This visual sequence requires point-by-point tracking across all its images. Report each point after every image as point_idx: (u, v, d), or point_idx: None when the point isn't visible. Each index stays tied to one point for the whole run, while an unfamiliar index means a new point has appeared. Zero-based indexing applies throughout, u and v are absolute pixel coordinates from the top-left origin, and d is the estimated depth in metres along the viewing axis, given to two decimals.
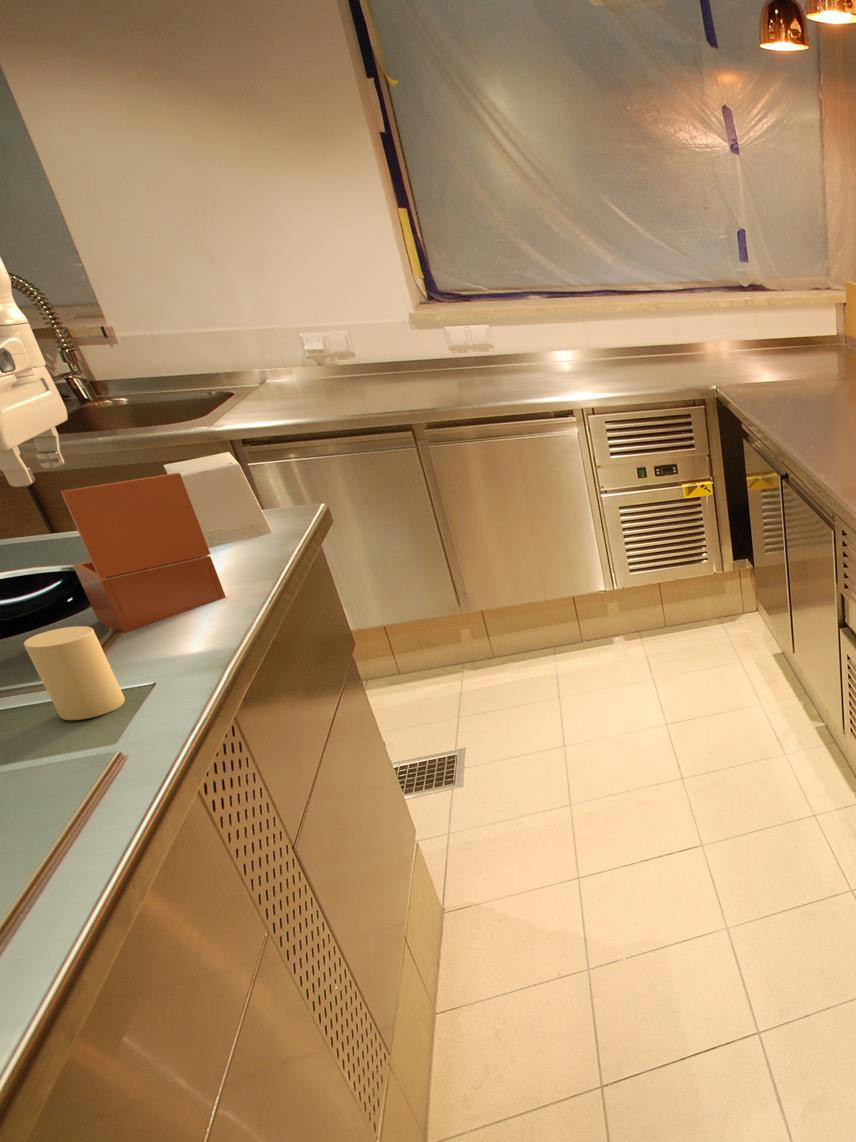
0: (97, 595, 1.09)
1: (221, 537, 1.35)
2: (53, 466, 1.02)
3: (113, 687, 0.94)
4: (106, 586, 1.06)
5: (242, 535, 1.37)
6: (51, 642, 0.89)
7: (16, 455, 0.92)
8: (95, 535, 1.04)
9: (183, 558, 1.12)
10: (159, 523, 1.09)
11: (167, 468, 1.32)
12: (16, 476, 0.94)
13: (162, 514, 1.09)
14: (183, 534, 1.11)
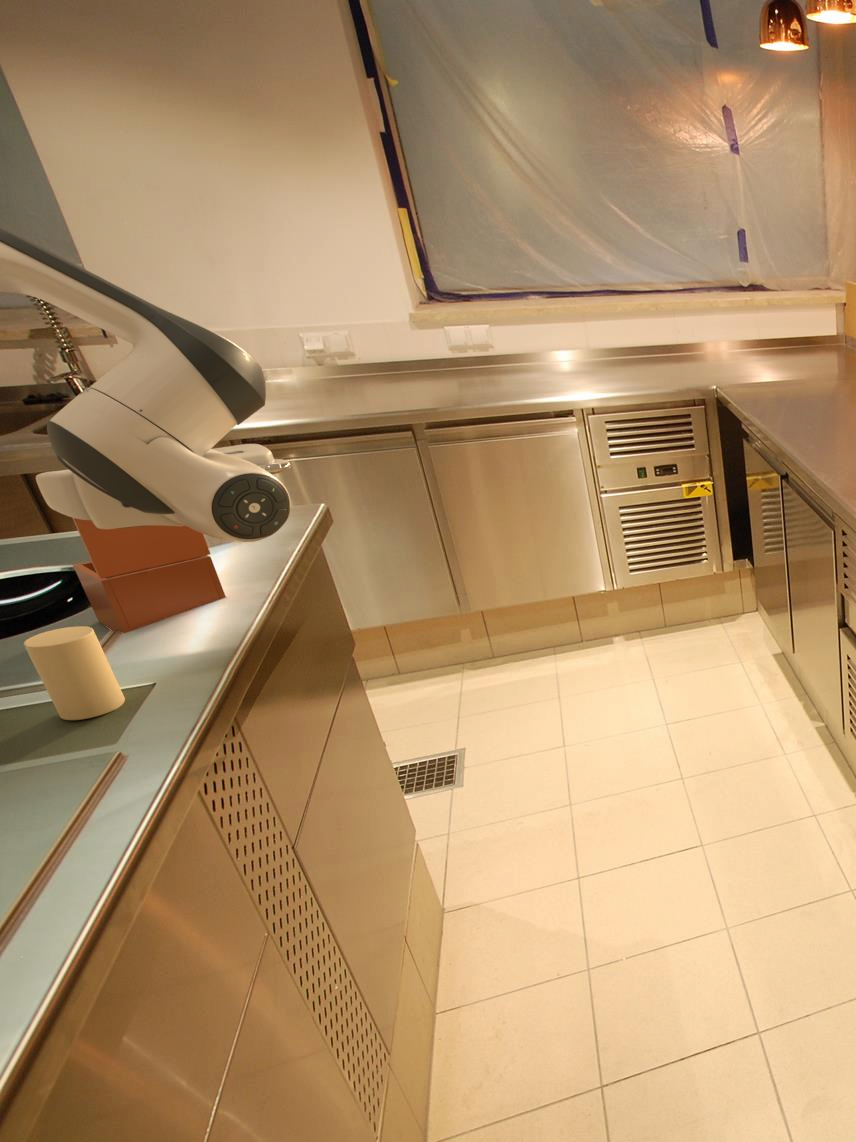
0: (97, 595, 1.09)
1: None
2: None
3: (113, 687, 0.94)
4: (106, 586, 1.06)
5: None
6: (51, 642, 0.89)
7: None
8: (95, 535, 1.04)
9: (183, 558, 1.12)
10: None
11: None
12: None
13: None
14: (183, 534, 1.11)
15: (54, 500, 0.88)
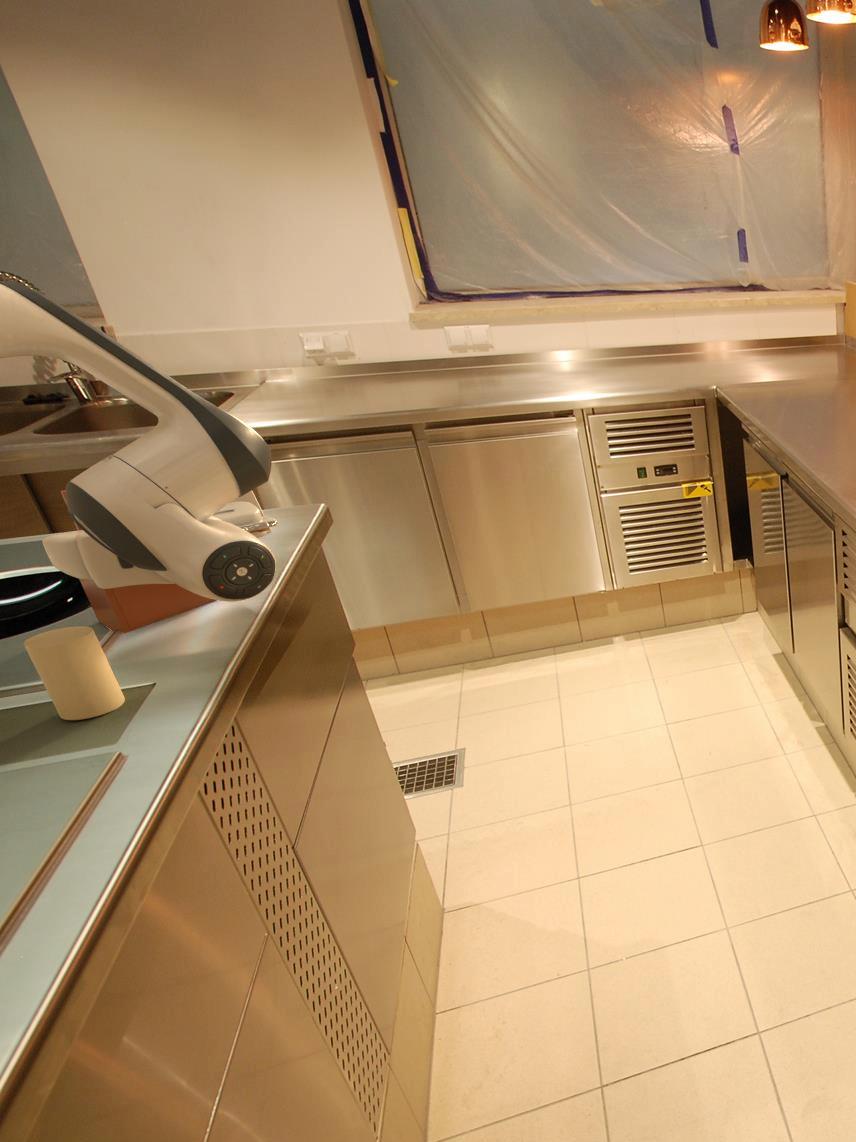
0: (97, 595, 1.09)
1: None
2: None
3: (113, 687, 0.94)
4: None
5: None
6: (51, 642, 0.89)
7: None
8: None
9: None
10: None
11: None
12: None
13: None
14: None
15: (59, 562, 0.96)
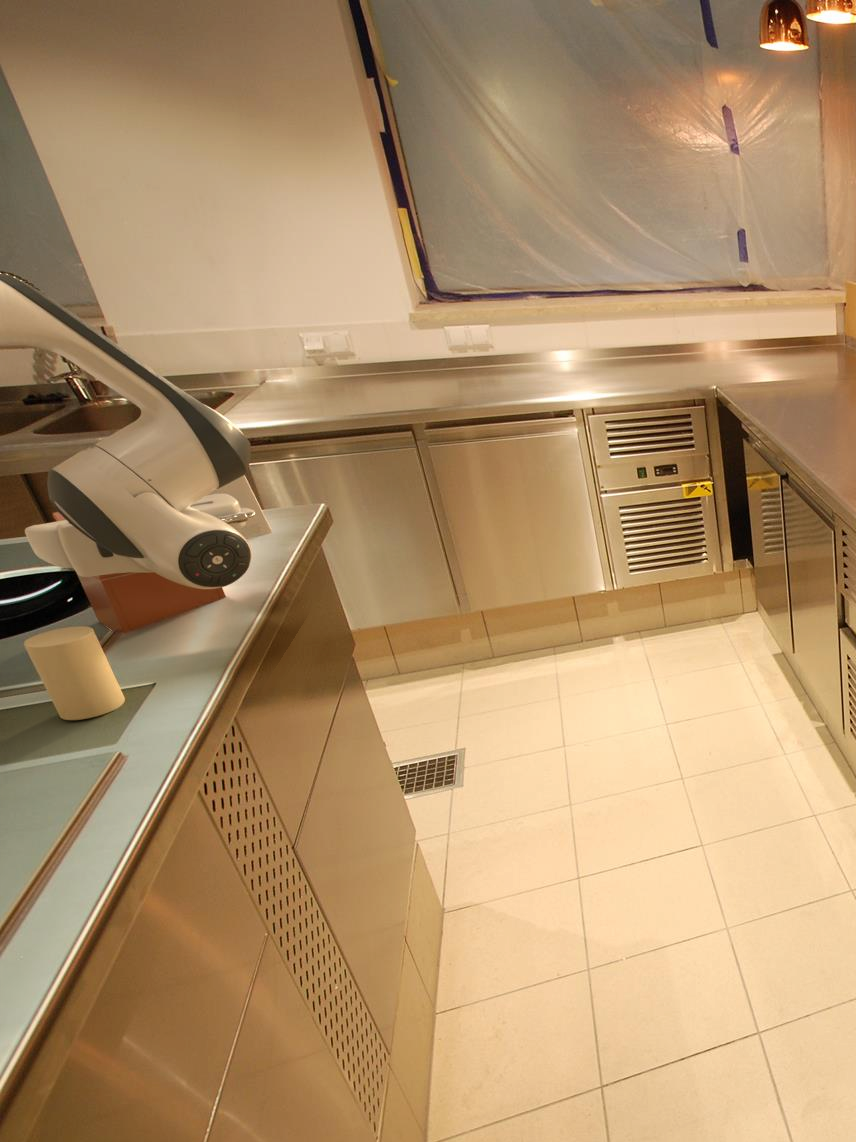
0: (97, 595, 1.09)
1: None
2: None
3: (113, 687, 0.94)
4: (106, 586, 1.06)
5: (242, 535, 1.37)
6: (51, 642, 0.89)
7: None
8: None
9: None
10: None
11: None
12: None
13: None
14: None
15: (41, 551, 0.99)
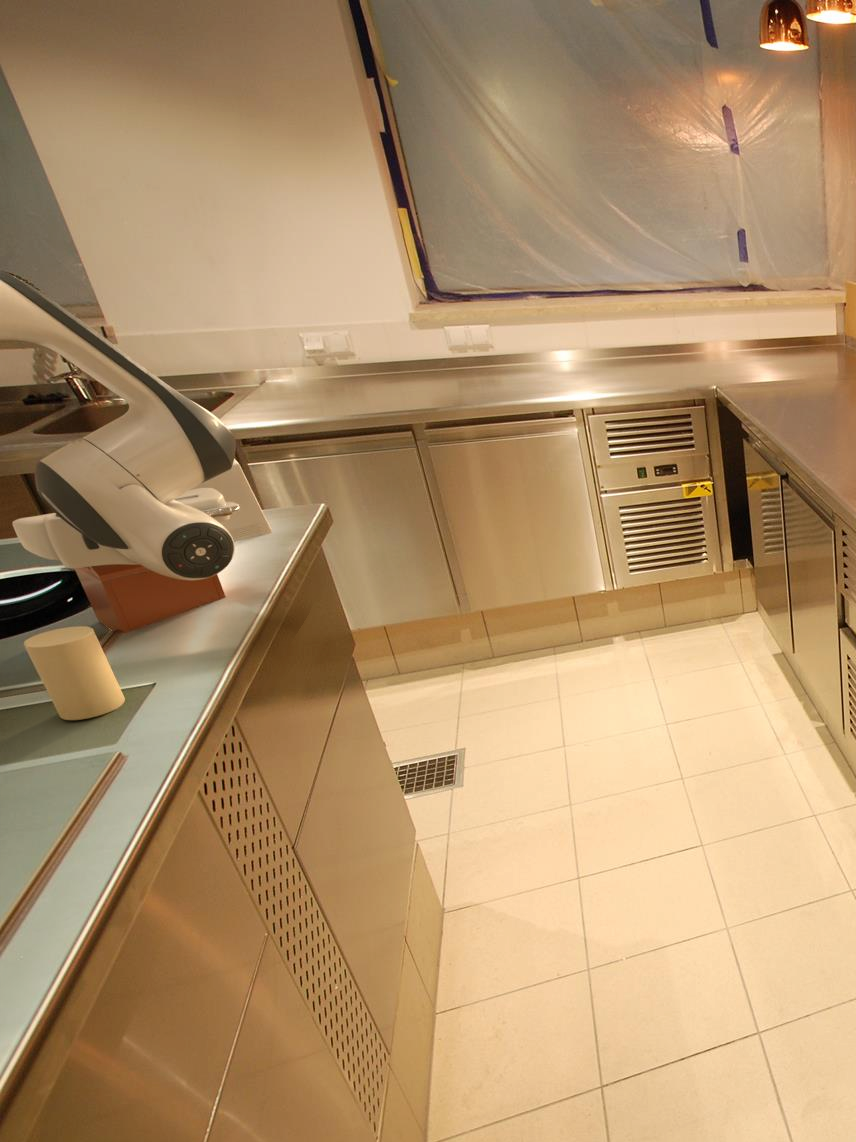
0: (97, 595, 1.09)
1: None
2: None
3: (113, 687, 0.94)
4: (106, 586, 1.06)
5: (242, 535, 1.37)
6: (51, 642, 0.89)
7: None
8: None
9: None
10: None
11: None
12: None
13: None
14: None
15: (28, 543, 1.01)
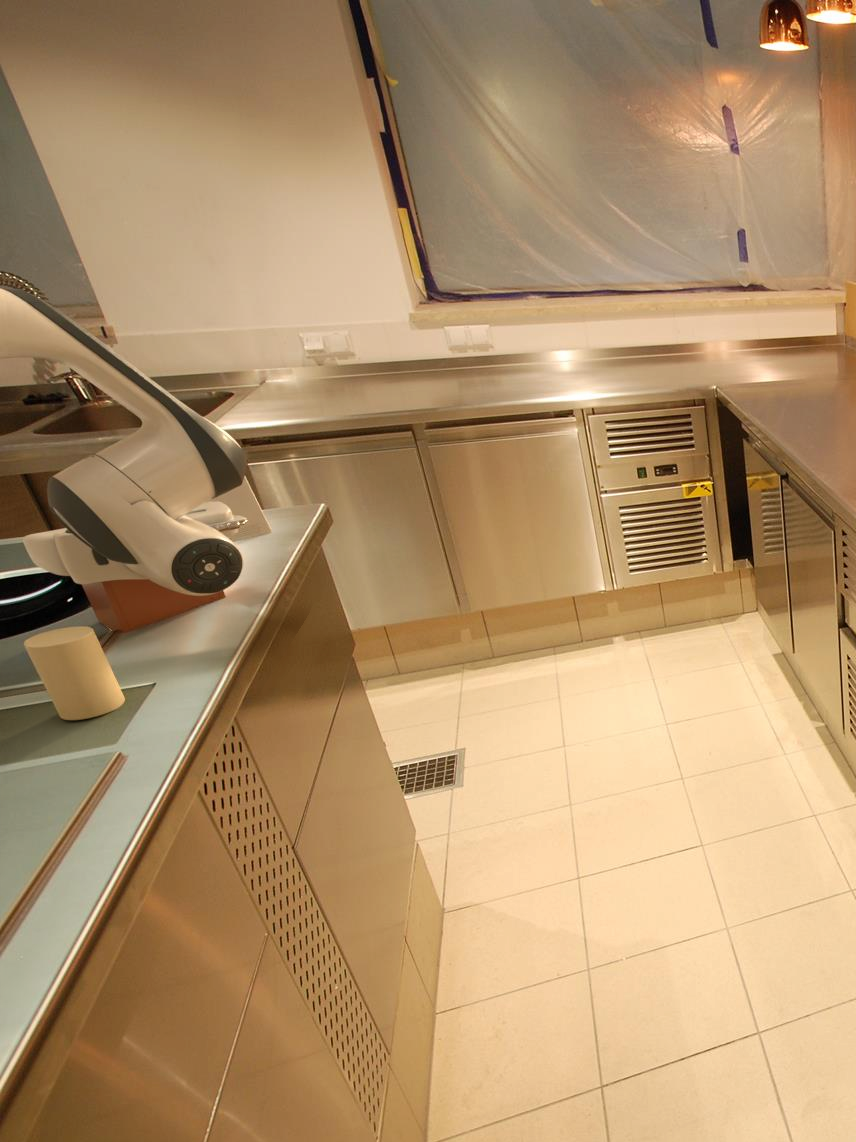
0: (97, 595, 1.09)
1: None
2: None
3: (113, 687, 0.94)
4: (106, 586, 1.06)
5: (242, 535, 1.37)
6: (51, 642, 0.89)
7: None
8: None
9: None
10: None
11: None
12: None
13: None
14: None
15: (38, 559, 1.02)
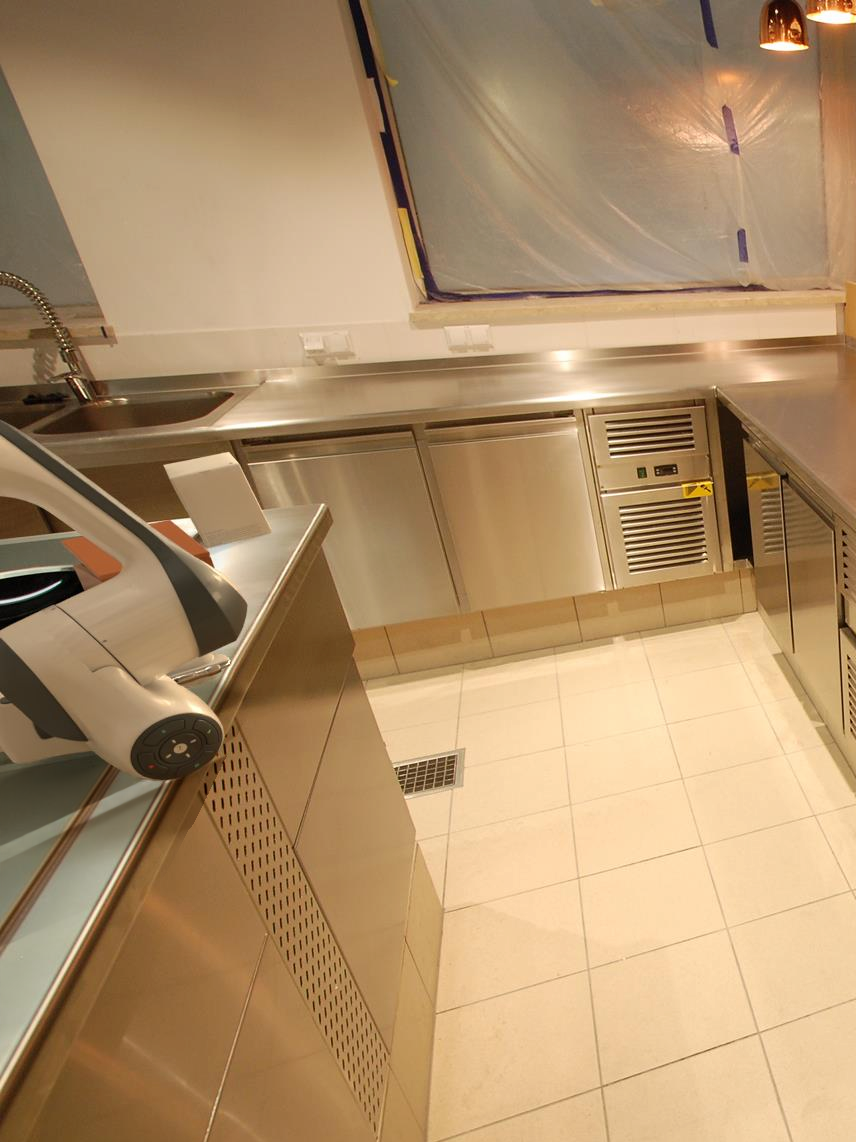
0: None
1: (221, 537, 1.35)
2: None
3: None
4: None
5: (242, 535, 1.37)
6: None
7: None
8: (92, 555, 1.08)
9: None
10: None
11: (167, 468, 1.32)
12: None
13: None
14: (178, 545, 1.14)
15: None
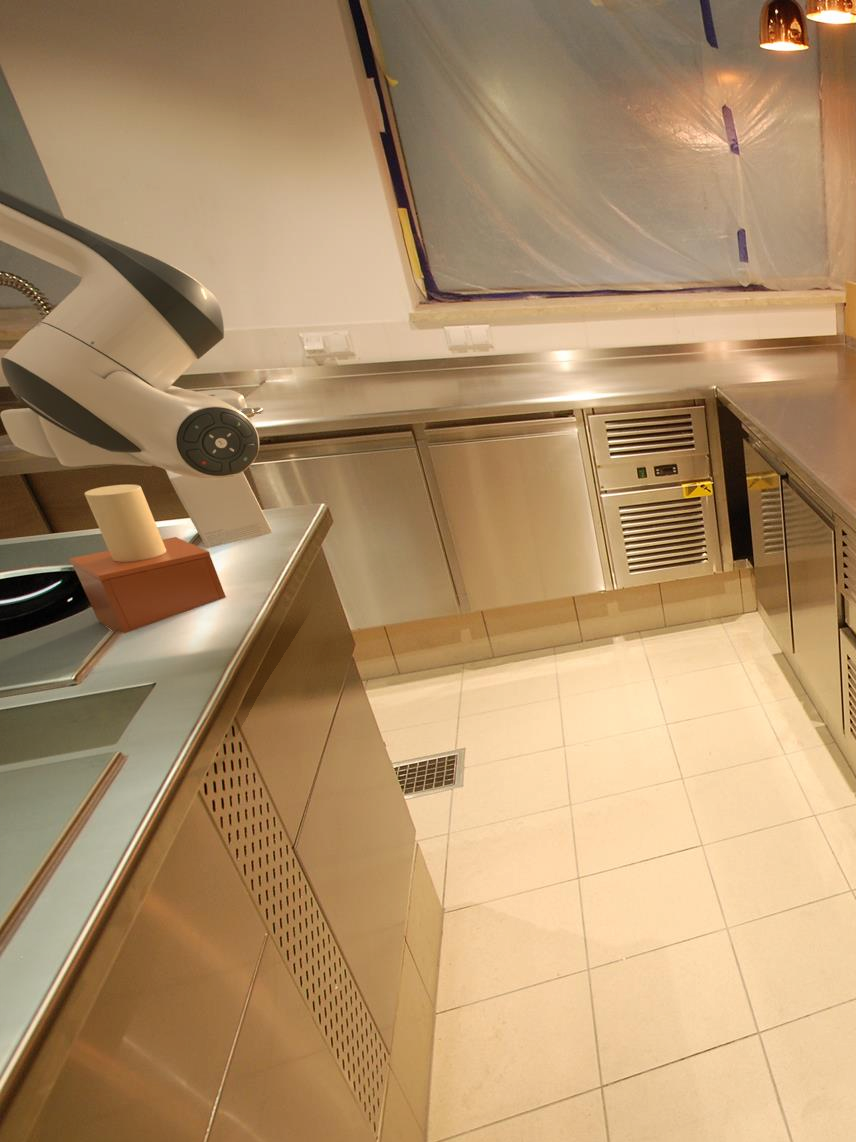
0: (97, 595, 1.09)
1: (221, 537, 1.35)
2: None
3: (156, 537, 1.12)
4: (106, 586, 1.06)
5: (242, 535, 1.37)
6: (107, 492, 1.07)
7: None
8: (95, 564, 1.09)
9: (181, 557, 1.12)
10: None
11: None
12: None
13: None
14: (180, 550, 1.14)
15: (19, 437, 0.86)
